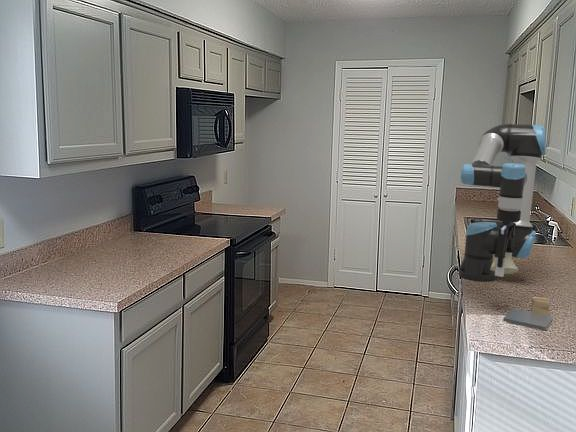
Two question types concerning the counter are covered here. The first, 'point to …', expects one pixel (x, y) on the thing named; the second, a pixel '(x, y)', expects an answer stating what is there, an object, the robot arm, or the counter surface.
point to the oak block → (540, 305)
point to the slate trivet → (528, 319)
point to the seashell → (506, 265)
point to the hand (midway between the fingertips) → (502, 273)
